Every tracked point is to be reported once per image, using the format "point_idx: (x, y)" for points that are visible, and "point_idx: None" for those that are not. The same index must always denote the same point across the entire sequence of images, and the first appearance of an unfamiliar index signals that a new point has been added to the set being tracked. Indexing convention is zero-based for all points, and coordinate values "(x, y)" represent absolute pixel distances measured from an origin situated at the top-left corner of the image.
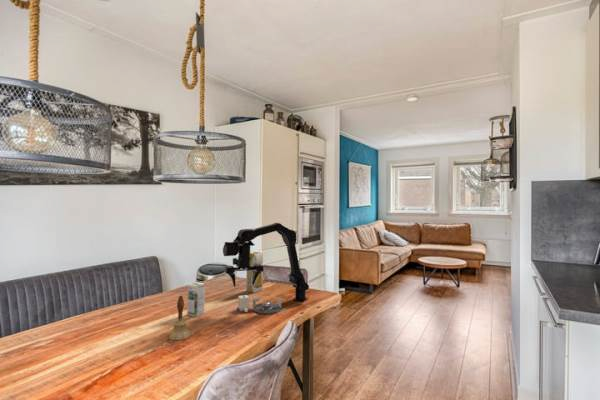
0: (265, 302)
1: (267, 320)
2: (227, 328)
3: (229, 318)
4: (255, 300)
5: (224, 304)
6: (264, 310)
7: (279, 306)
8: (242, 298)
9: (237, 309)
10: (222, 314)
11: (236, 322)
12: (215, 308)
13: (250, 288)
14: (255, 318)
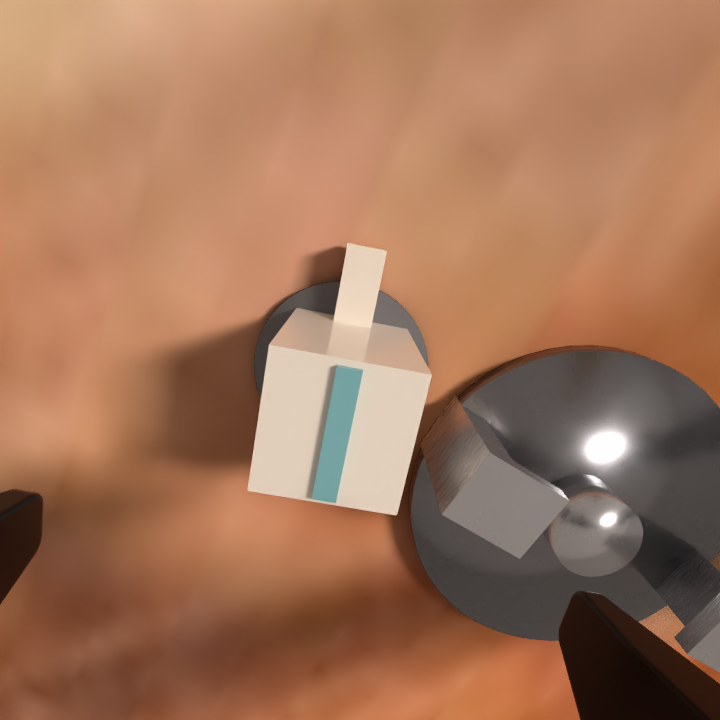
0: (600, 508)
1: (394, 715)
2: (29, 692)
3: (106, 519)
4: (470, 524)
5: (195, 13)
6: (487, 578)
7: (672, 607)
8: (278, 493)
9: (265, 354)
10: (66, 380)
11: (137, 629)
12: (30, 118)
13: None
14: (328, 636)
